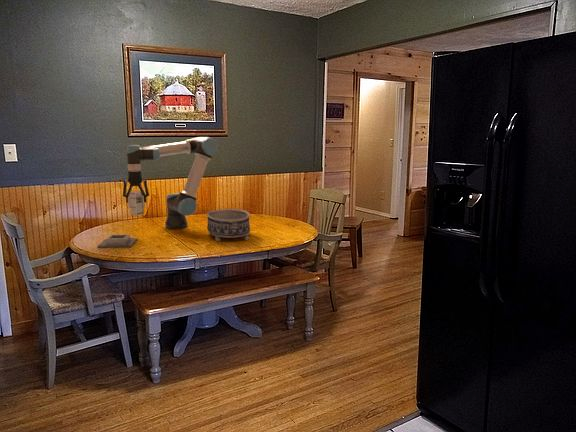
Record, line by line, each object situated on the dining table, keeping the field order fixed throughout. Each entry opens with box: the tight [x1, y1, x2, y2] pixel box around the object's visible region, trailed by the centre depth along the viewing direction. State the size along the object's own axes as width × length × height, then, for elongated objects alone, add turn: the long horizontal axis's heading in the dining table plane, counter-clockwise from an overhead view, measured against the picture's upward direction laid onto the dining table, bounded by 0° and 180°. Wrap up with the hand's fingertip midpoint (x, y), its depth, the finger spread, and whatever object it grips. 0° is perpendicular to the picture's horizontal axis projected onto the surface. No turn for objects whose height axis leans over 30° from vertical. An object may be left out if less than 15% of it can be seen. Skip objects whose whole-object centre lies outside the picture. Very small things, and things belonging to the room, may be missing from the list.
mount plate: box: [97, 233, 139, 249], centre depth 258 cm, size 18×18×4 cm
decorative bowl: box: [206, 208, 251, 242], centre depth 280 cm, size 42×27×15 cm, turn 19°
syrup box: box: [129, 190, 145, 217], centre depth 273 cm, size 6×6×14 cm
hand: (136, 207), depth 273 cm, fingers closed on syrup box, 8 cm apart
